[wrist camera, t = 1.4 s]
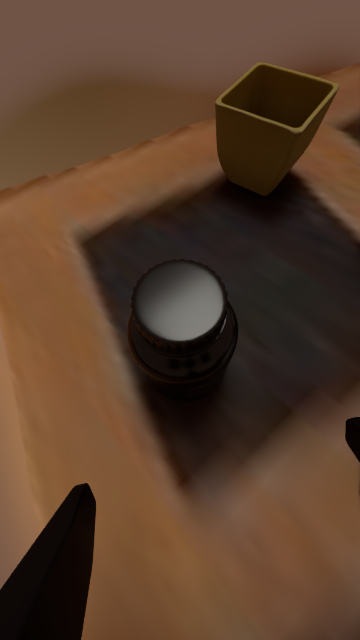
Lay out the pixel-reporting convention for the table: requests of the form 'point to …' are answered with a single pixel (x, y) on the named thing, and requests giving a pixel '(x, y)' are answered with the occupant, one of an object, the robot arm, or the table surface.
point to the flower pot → (268, 123)
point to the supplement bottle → (182, 328)
